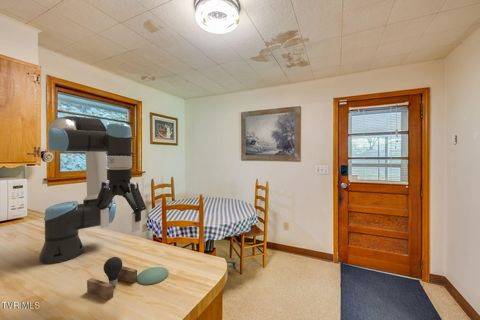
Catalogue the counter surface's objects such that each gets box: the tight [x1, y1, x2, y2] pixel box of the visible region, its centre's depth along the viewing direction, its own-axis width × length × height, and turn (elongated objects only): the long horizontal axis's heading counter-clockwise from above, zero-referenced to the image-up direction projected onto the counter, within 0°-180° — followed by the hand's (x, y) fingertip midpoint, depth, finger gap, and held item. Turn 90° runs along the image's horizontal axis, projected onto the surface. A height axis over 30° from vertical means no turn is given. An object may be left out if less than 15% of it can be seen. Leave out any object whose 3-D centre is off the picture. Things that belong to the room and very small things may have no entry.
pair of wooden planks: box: [86, 265, 138, 301], centre depth 74 cm, size 10×11×4 cm
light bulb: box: [103, 256, 123, 288], centre depth 74 cm, size 6×6×10 cm
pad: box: [136, 266, 169, 286], centre depth 80 cm, size 11×11×1 cm
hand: (119, 229), depth 75 cm, fingers open, 13 cm apart
